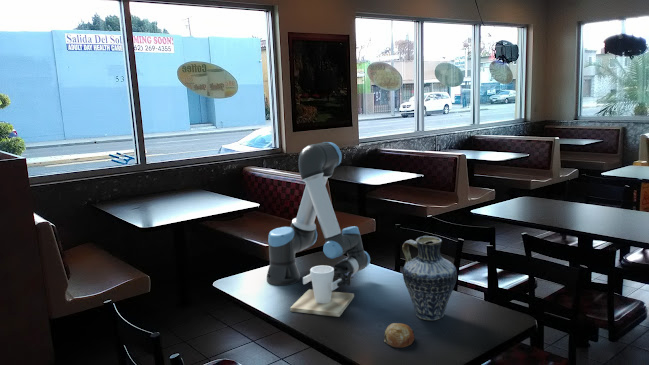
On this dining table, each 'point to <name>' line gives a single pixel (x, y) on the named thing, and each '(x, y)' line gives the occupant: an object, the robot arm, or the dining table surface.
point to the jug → (428, 277)
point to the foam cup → (322, 283)
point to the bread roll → (399, 335)
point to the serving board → (322, 304)
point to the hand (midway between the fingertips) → (317, 284)
